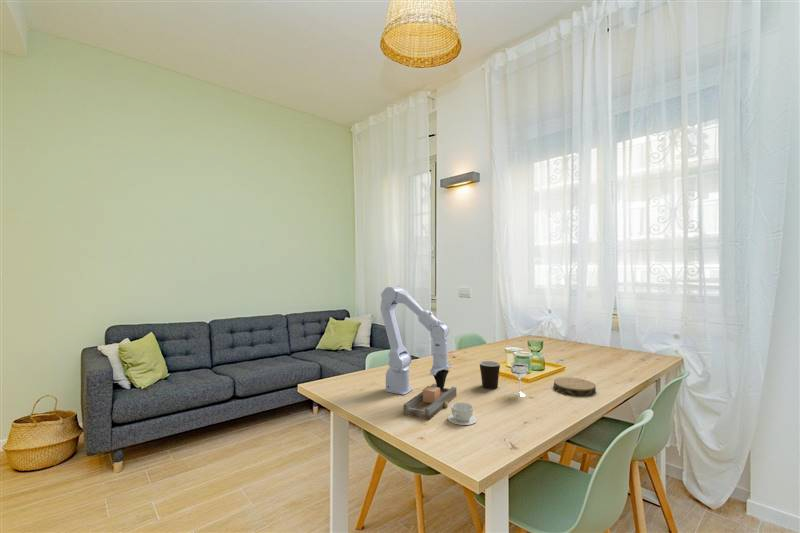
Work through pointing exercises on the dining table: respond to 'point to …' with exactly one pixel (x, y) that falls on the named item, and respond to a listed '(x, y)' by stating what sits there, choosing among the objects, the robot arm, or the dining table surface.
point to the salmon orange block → (431, 394)
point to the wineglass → (519, 374)
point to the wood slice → (574, 386)
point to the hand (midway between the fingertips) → (440, 388)
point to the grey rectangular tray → (429, 404)
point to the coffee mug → (489, 374)
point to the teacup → (462, 414)
